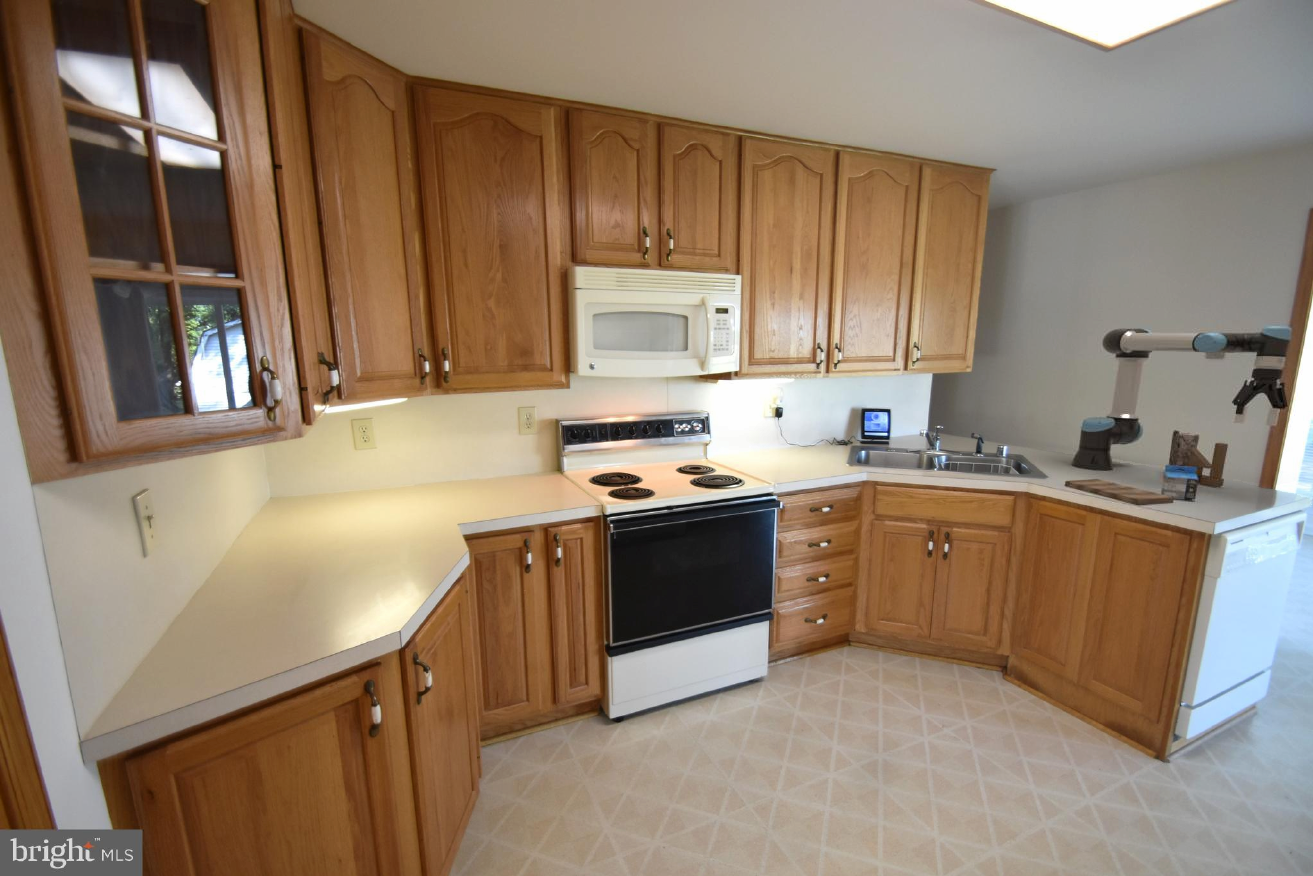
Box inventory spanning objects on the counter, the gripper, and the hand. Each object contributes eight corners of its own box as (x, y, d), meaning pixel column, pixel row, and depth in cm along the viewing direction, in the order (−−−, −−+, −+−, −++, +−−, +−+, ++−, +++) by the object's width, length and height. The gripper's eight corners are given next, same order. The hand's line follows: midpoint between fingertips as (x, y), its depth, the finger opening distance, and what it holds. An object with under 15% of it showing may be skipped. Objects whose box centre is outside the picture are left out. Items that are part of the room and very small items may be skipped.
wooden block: (1190, 481, 226) (1197, 439, 223) (1222, 487, 216) (1231, 444, 213) (1184, 481, 225) (1191, 440, 222) (1216, 488, 215) (1225, 444, 212)
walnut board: (1064, 485, 218) (1065, 480, 218) (1096, 483, 221) (1096, 478, 221) (1138, 505, 191) (1139, 499, 191) (1172, 502, 194) (1173, 497, 194)
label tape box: (1163, 498, 200) (1168, 466, 198) (1160, 495, 204) (1165, 464, 202) (1195, 501, 196) (1200, 469, 194) (1191, 498, 199) (1197, 467, 197)
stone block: (1194, 479, 228) (1202, 434, 225) (1173, 478, 231) (1181, 432, 228) (1181, 473, 240) (1189, 429, 237) (1161, 471, 243) (1168, 428, 240)
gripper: (1249, 366, 195) (1236, 423, 198) (1310, 370, 197) (1296, 427, 200) (1226, 365, 202) (1214, 421, 205) (1285, 370, 204) (1272, 425, 207)
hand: (1254, 424), depth 203 cm, fingers open, 13 cm apart
